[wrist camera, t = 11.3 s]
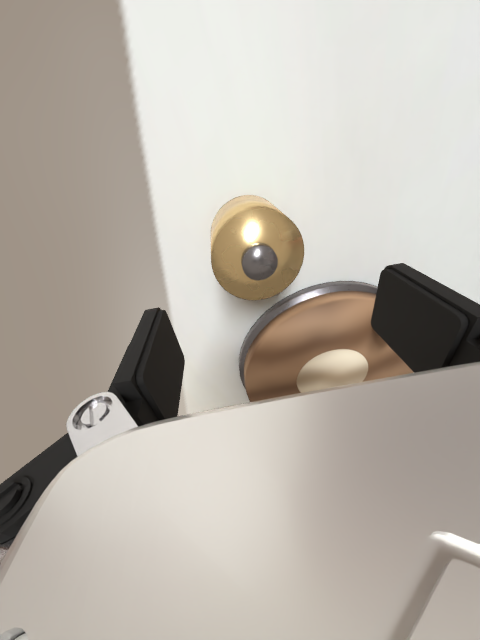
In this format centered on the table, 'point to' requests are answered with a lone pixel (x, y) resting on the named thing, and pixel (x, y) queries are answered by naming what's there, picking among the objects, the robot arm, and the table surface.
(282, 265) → the cover
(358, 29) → the table surface
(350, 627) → the robot arm
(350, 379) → the turntable
